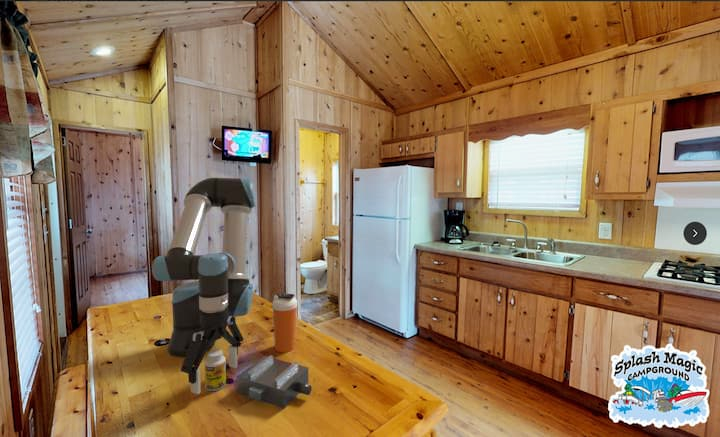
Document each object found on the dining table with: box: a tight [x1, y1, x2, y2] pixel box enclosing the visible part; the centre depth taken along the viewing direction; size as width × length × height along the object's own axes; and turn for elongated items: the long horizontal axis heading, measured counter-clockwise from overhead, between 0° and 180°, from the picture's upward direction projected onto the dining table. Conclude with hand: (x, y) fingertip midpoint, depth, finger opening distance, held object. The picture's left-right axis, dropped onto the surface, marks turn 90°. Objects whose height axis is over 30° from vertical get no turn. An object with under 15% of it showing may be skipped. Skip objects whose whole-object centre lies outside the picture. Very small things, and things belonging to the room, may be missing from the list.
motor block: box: [236, 354, 313, 409], centre depth 90 cm, size 20×14×6 cm
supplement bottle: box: [204, 349, 227, 392], centre depth 92 cm, size 6×6×10 cm
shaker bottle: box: [271, 291, 298, 353], centre depth 115 cm, size 9×9×20 cm
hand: (215, 378), depth 92 cm, fingers open, 13 cm apart
